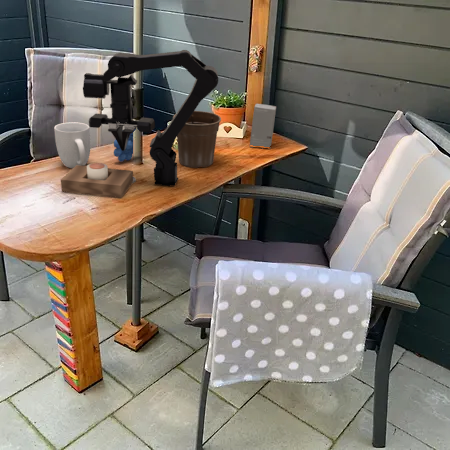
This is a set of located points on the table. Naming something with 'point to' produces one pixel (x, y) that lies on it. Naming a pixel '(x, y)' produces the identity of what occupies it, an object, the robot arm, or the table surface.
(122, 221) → the table surface
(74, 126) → the mug
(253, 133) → the skincare box
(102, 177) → the cream short cylinder
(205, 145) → the plant pot
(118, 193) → the brown wooden block
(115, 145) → the grapes
